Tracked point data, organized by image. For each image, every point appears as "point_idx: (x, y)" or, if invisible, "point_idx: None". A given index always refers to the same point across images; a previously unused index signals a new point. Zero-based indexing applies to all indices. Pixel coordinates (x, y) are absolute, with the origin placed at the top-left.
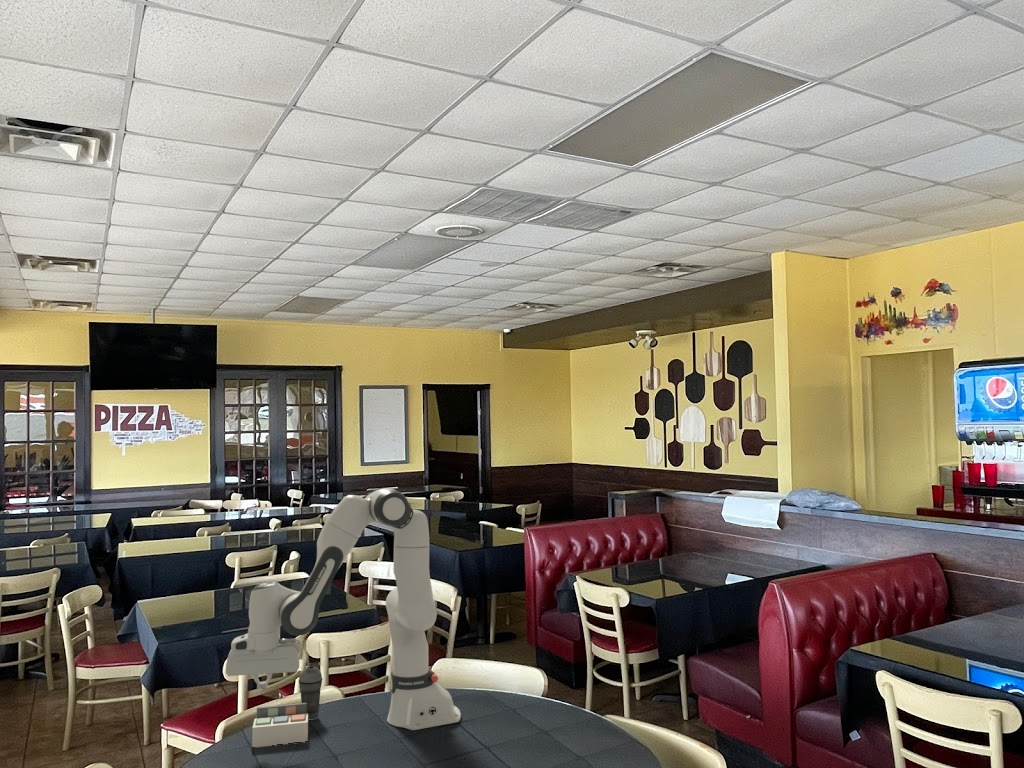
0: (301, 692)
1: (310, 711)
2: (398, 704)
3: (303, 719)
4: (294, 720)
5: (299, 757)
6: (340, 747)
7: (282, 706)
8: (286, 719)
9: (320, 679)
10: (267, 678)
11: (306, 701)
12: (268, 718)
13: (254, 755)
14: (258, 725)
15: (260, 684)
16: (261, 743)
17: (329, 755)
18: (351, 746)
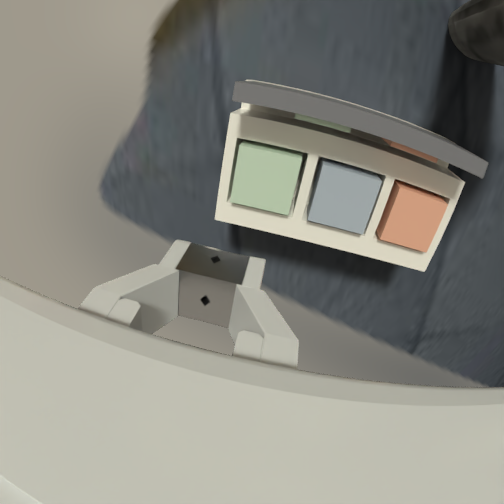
0: (500, 22)
1: (486, 60)
2: None
3: (422, 250)
4: (390, 241)
5: (346, 315)
6: (451, 307)
7: (376, 135)
8: (363, 223)
9: None
10: (247, 309)
11: (496, 52)
12: (290, 168)
13: (235, 249)
14: (240, 207)
15: (188, 313)
16: None
17: (409, 334)
18: (469, 312)
